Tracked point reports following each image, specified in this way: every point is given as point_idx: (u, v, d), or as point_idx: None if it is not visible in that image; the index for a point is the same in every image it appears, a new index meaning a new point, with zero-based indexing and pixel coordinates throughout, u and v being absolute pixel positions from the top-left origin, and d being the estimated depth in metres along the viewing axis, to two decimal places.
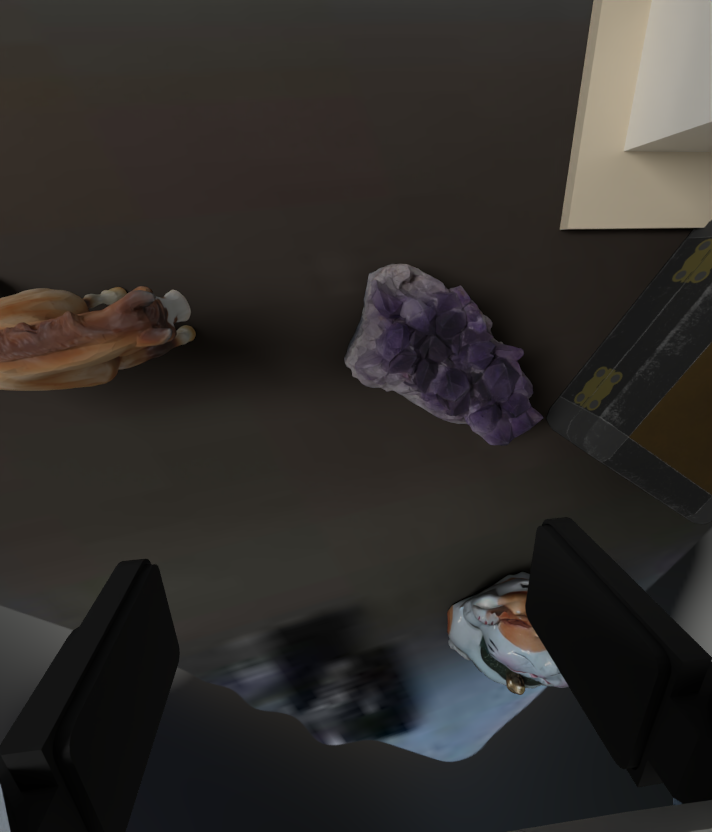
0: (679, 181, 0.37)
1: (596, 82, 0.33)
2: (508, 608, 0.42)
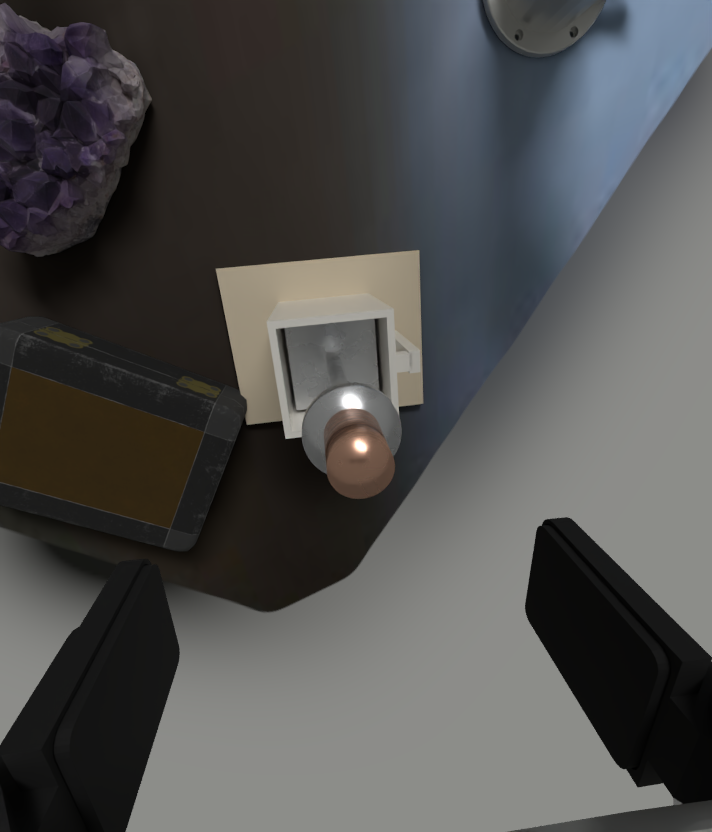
0: (266, 356, 0.48)
1: (317, 265, 0.45)
2: None
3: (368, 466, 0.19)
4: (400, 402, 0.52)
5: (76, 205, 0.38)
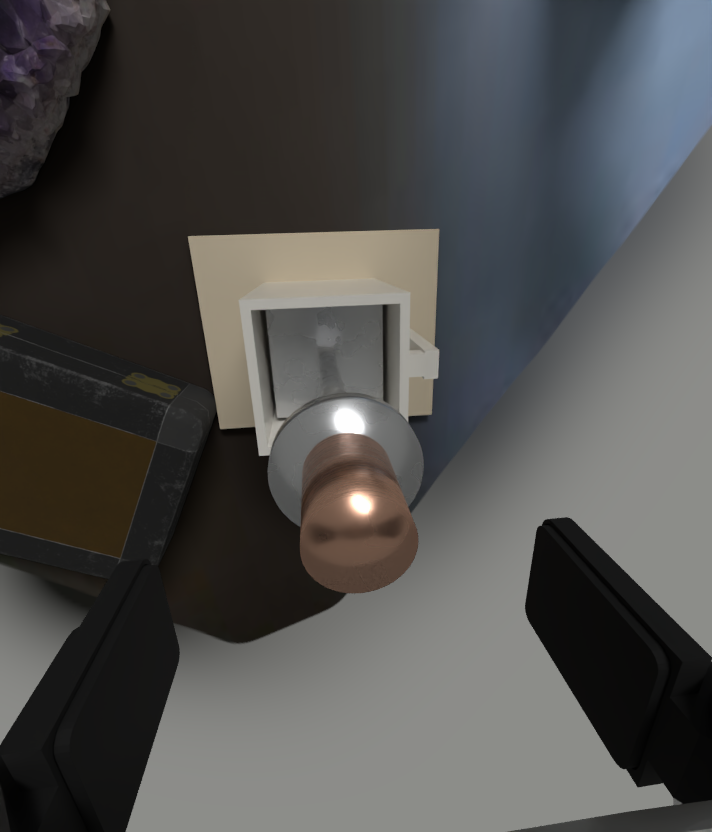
0: None
1: (314, 239, 0.36)
2: None
3: (372, 542, 0.11)
4: None
5: (2, 138, 0.29)
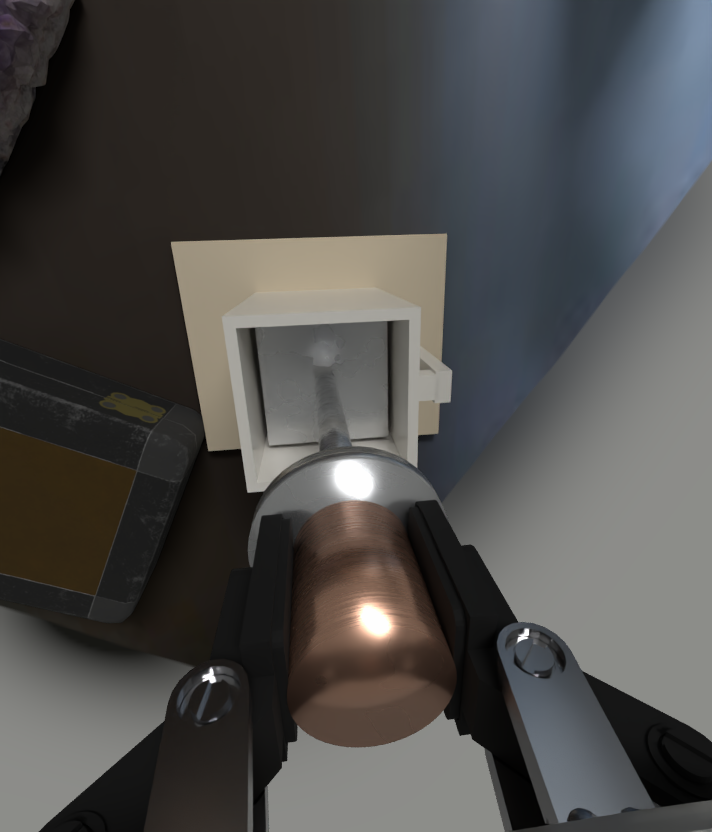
0: None
1: (310, 245, 0.33)
2: None
3: (390, 683, 0.08)
4: None
5: None
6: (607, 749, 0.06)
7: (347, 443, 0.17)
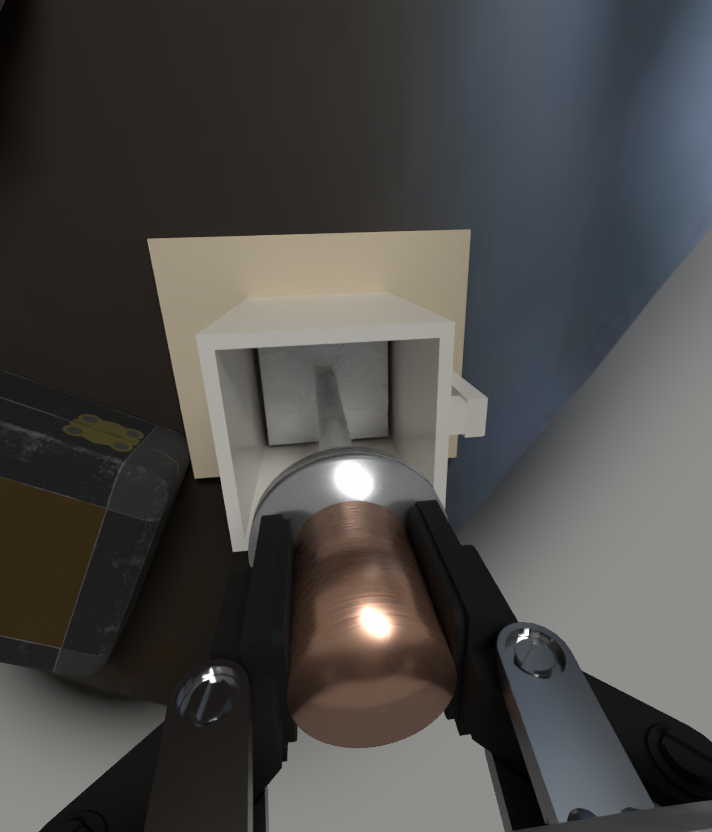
0: None
1: (311, 243, 0.28)
2: None
3: (390, 684, 0.08)
4: None
5: None
6: (607, 749, 0.06)
7: (347, 443, 0.17)
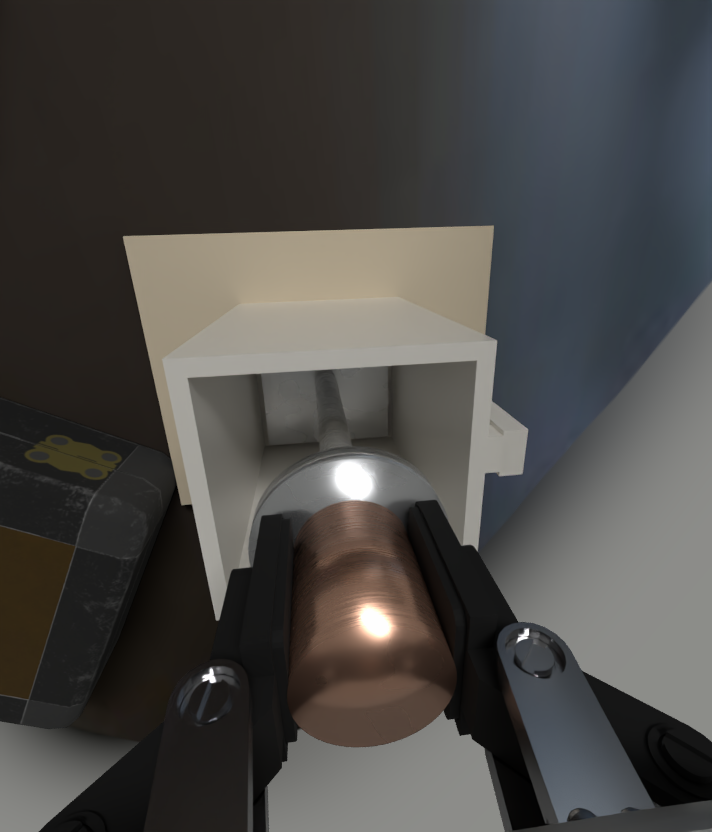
0: None
1: (312, 241, 0.25)
2: None
3: (390, 684, 0.08)
4: None
5: None
6: (607, 749, 0.06)
7: (347, 443, 0.17)
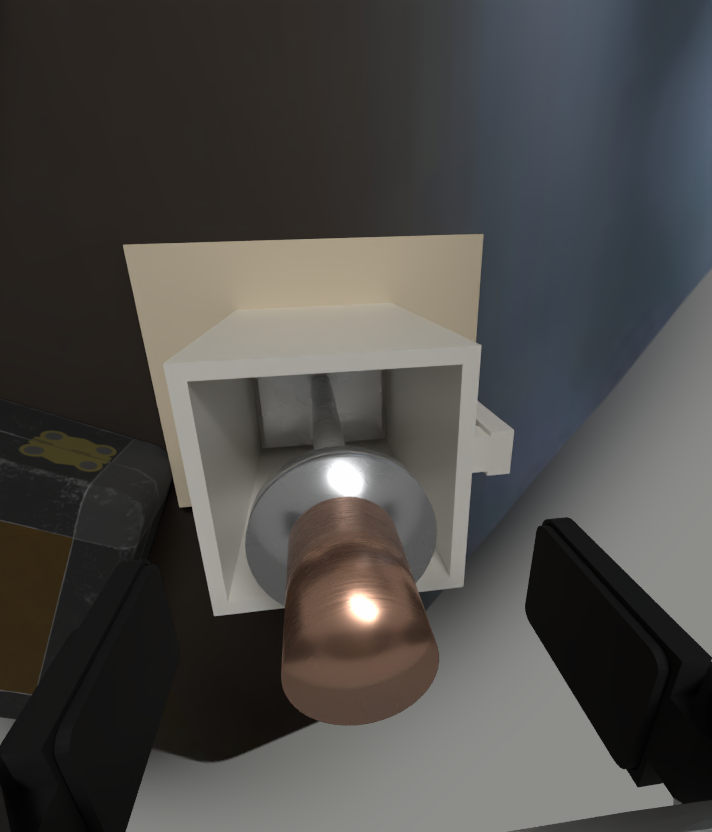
0: None
1: (307, 249, 0.25)
2: None
3: (377, 664, 0.08)
4: None
5: None
6: None
7: (341, 444, 0.17)
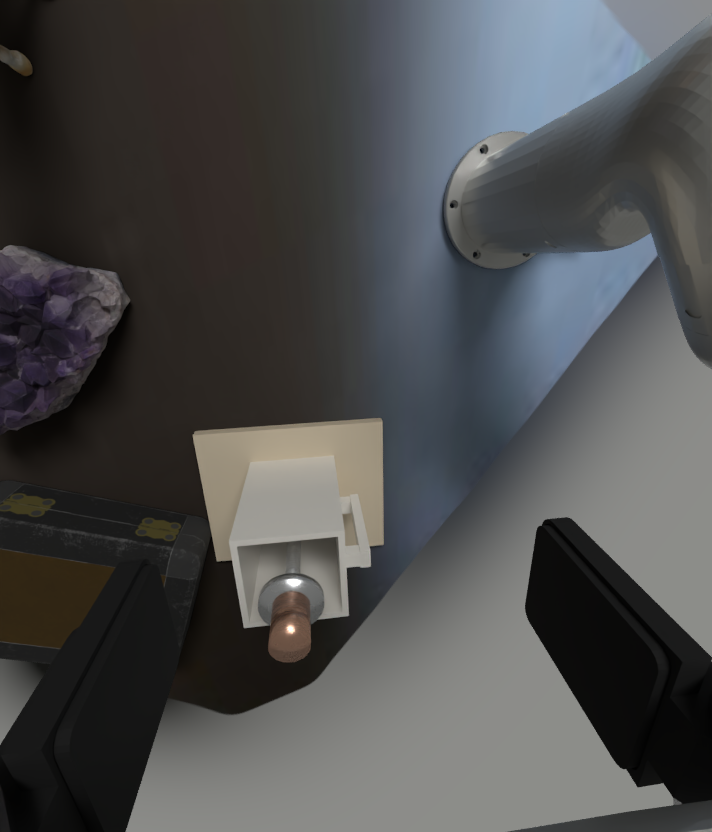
0: (237, 505, 0.51)
1: (287, 432, 0.48)
2: None
3: (293, 645, 0.31)
4: None
5: None
6: None
7: (297, 554, 0.40)
